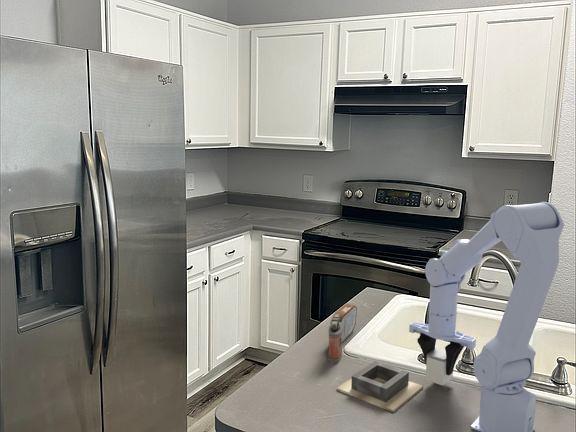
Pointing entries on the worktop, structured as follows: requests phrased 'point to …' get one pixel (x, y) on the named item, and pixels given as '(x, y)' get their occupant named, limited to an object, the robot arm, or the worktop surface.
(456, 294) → the robot arm
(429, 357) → the plug
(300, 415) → the worktop surface
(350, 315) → the tin
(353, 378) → the socket
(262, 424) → the worktop surface
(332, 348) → the lighter
